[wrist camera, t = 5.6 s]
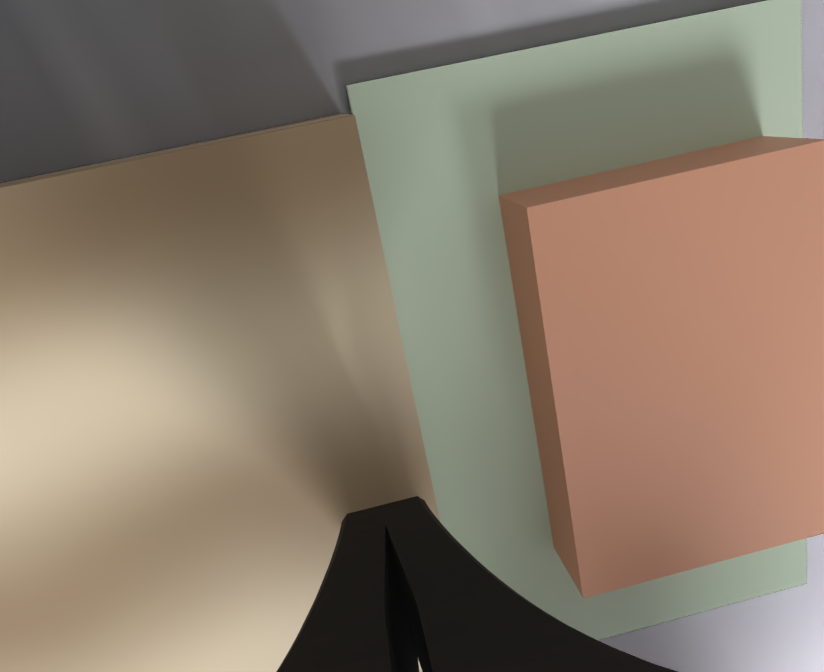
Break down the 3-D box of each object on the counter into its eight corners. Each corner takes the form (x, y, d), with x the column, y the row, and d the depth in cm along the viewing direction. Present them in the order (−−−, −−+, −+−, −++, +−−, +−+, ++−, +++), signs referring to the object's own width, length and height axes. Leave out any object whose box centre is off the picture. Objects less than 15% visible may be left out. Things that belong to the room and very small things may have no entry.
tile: (583, 598, 16) (553, 547, 18) (828, 532, 17) (774, 488, 18) (526, 207, 13) (498, 195, 15) (826, 140, 14) (762, 136, 15)
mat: (797, 574, 20) (806, 583, 20) (467, 663, 19) (470, 674, 19) (788, -4, 15) (801, -7, 15) (345, 85, 14) (347, 85, 14)
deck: (457, 651, 19) (494, 785, 15) (-161, 816, 18) (-286, 1006, 14) (341, 113, 14) (354, 115, 11) (-500, 286, 13) (-819, 356, 9)
